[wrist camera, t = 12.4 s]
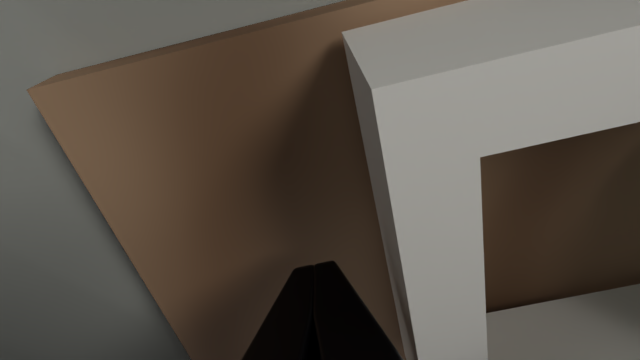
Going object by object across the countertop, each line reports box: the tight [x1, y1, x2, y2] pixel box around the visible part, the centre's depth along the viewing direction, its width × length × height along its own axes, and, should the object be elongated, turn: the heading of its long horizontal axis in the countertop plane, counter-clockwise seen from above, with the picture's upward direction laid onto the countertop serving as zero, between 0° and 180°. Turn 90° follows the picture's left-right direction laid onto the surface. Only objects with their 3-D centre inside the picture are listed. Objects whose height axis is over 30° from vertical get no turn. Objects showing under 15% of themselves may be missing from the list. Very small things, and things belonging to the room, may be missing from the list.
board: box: [27, 0, 640, 360], centre depth 10 cm, size 18×14×1 cm
